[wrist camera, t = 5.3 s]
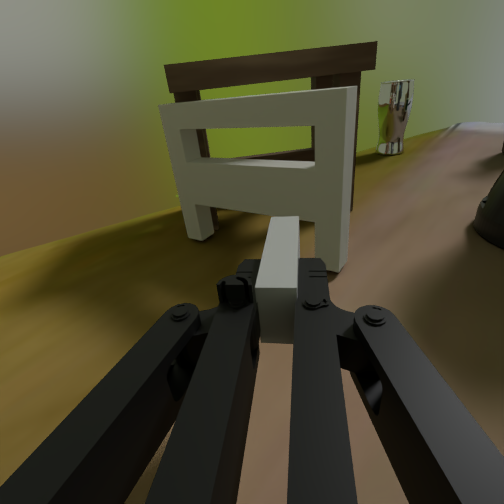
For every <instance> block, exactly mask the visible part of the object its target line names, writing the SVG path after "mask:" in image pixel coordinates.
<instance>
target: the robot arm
mask: <svg viewBox="0 0 504 504" xmlns="http://www.w3.org/2000/svg"><path fill="white" fill-rule="evenodd" d="M474 227H475V229H476V231H477V232H478V233H479V234H480V235H481V236H482V237H484V238H485V239H487V240H488V241H490V242H492V243H493V244H495V245H497V246H499V247H502V248H504V170H503V172H502V173H501V175H500V176H499V177H498V179H497V180H496V182H495V183H494V185H493V187H492V188H491V190H490V192H489V194H488V196H486V197H485V198H483V200H482V201H481V202H480V204H479V206H478V209H477V212H476V216H475V220H474ZM216 285H217V291H218V296H219V301H220V303H219V306H218V307H215V308H212V309H209V310H204V311H199V310H198V308H197V307H196V306H195V305H193V304H191V303H183V304H178V305H175V306H173V307H171V308H170V309H169V310H167V311H166V312H165V313H164V314H163V315H162V316H161V317H160V319H159V320H158V321H157V322H156V323H155V324H154V325H153V326H152V327H151V328H150V329H149V330H148V331H147V332H146V333H145V334H144V335H143V336H142V338H141V339H140V340H139V341H138V342H137V343H136V344H135V345H134V346H133V347H132V348H131V349H130V350H129V351H128V352H127V353H126V354H125V356H124V357H123V358H122V359H121V360H120V361H119V362H118V363H117V364H116V365H115V366H114V367H113V368H112V369H111V370H110V371H109V372H108V374H107V375H106V376H105V377H104V378H103V379H102V380H101V381H100V382H99V383H98V384H97V385H96V386H95V387H94V388H93V389H92V390H91V392H90V393H89V394H88V395H87V396H86V397H85V398H84V399H83V400H82V401H81V402H80V403H79V404H78V405H77V406H76V407H75V408H74V410H73V411H72V412H71V413H70V414H69V415H68V416H67V417H66V418H65V419H64V420H63V421H62V422H61V423H60V424H59V425H58V426H57V427H56V429H55V430H54V431H53V432H52V433H51V434H50V435H49V436H48V437H47V438H46V439H45V440H44V441H43V442H42V443H41V444H40V445H39V447H38V448H37V449H36V450H35V451H34V452H33V453H32V454H31V455H30V456H29V457H28V458H27V459H26V460H25V461H24V462H23V463H22V465H21V466H20V467H19V468H18V469H17V470H16V471H15V472H14V473H13V474H12V475H11V476H10V477H9V478H8V479H7V480H6V481H5V483H4V484H3V485H2V486H1V487H0V504H124V502H125V501H126V499H127V498H128V496H129V494H130V493H131V491H132V490H133V488H134V486H135V485H136V483H137V482H138V480H139V478H140V477H141V475H142V474H143V472H144V470H145V469H146V467H147V465H148V464H149V462H150V461H151V459H152V457H153V456H154V454H155V453H156V451H157V449H158V448H159V446H160V445H161V443H162V441H163V440H164V438H165V437H166V435H167V433H168V432H169V430H170V429H171V427H172V425H173V424H174V422H175V424H174V427H173V429H172V432H171V435H170V437H169V440H168V443H167V445H166V448H165V451H164V453H163V456H162V459H161V461H160V464H159V467H158V470H157V472H156V475H155V478H154V480H153V483H152V486H151V488H150V491H149V494H148V496H147V499H146V502H145V504H236V502H237V495H238V489H239V483H240V476H241V470H242V463H243V457H244V451H245V444H246V438H247V431H248V425H249V418H250V412H251V406H252V399H253V393H254V386H255V380H256V373H257V367H258V361H259V354H260V351H259V338H261V343H283V344H293V368H292V392H291V417H290V442H289V467H288V492H287V504H358V503H357V495H356V487H355V479H354V472H353V464H352V456H351V448H350V440H349V432H348V424H347V416H346V408H345V400H344V392H343V384H342V377H341V369H340V368H342V369H345V370H348V371H350V374H351V377H352V379H353V381H354V384H355V386H356V388H357V390H358V392H359V395H360V397H361V399H362V401H363V403H364V405H365V408H366V410H367V412H368V414H369V416H370V419H371V421H372V423H373V425H374V427H375V430H376V432H377V434H378V436H379V438H380V441H381V443H382V445H383V447H384V449H385V452H386V454H387V456H388V458H389V460H390V463H391V465H392V467H393V469H394V471H395V474H396V476H397V478H398V480H399V482H400V485H401V487H402V489H403V491H404V493H405V496H406V498H407V500H408V502H409V504H504V457H503V455H502V454H501V453H500V452H499V450H498V449H497V448H496V446H495V445H494V444H493V442H492V441H491V440H490V439H489V437H488V436H487V435H486V433H485V432H484V431H483V429H482V428H481V427H480V426H479V424H478V423H477V422H476V420H475V419H474V418H473V416H472V415H471V414H470V413H469V411H468V410H467V409H466V407H465V406H464V405H463V403H462V402H461V401H460V400H459V398H458V397H457V396H456V394H455V393H454V392H453V390H452V389H451V388H450V387H449V385H448V384H447V383H446V381H445V380H444V379H443V378H442V376H441V375H440V374H439V372H438V371H437V370H436V368H435V367H434V366H433V365H432V363H431V362H430V361H429V359H428V358H427V357H426V355H425V354H424V353H423V352H422V350H421V349H420V348H419V346H418V345H417V344H416V342H415V341H414V340H413V339H412V337H411V336H410V335H409V333H408V332H407V331H406V329H405V328H404V327H403V326H402V324H401V323H400V322H399V320H398V319H397V318H396V316H395V315H394V314H393V313H392V312H390V311H389V310H387V309H385V308H383V307H379V306H375V305H366V306H363V307H360V308H359V309H357V310H356V311H355V313H353V312H348V311H345V310H342V309H340V308H338V307H336V306H335V305H334V304H333V303H332V302H331V300H330V296H329V288H328V280H327V272H326V264H325V263H324V262H323V261H322V259H321V258H300V242H299V216H287V217H271V220H270V224H269V229H268V233H267V237H266V242H265V246H264V250H263V254H262V259H245V260H244V261H243V262H242V263H241V264H240V265H239V266H238V269H237V273H236V275H230V276H227V277H224V278H223V279H221V280H220V281H219V282H218V283H217V284H216Z"/></svg>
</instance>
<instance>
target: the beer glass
mask: <svg viewBox="0 0 504 504" xmlns="http://www.w3.org/2000/svg"><path fill="white" fill-rule="evenodd" d="M413 92H414V79H408V80H396V81H388V82H381V87H380V94H379V101H378V124H379V141H378V145H377V148H376V154H379V155H398V154H402V153H403V152H404V147H403V137H404V132H405V128H406V125H407V122H408V118H409V115H410V112H411V108H412V101H413Z"/></svg>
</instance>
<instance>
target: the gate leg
mask: <svg viewBox="0 0 504 504" xmlns="http://www.w3.org/2000/svg"><path fill="white" fill-rule="evenodd" d="M356 102H357V86H348V87H338V88H327V89H316V90H306V91H295V92H285V93H274V94H263V95H252V96H242V97H231V98H220V99H210V100H199V101H188V102H178V103H170V104H163V105H158V107H159V111H160V115H161V120H162V124H163V129H164V133H165V137H166V142H167V147H168V151H169V155H170V159H171V163H172V169H173V173H174V177H175V182H176V186H177V191H178V195H179V199H180V203H181V208H182V213H183V217H184V222H185V226H186V230H187V235H188V238H192V239H196V240H200V241H203V240H204V239H206V238H207V237H209V236H210V235H212V234H214V228H213V222H212V217H211V211H210V207H217V208H223V209H230V210H237V211H243V212H250V213H257V214H263V215H270V216H277V217H287V216H299V220H303V221H310V222H315V258H321V259H322V261H323V262H324V263H325V264H326V270H330V271H334V272H338V273H339V272H340V270H341V269H342V267H343V266H344V265H345V263H346V262H347V255H348V238H349V221H350V204H351V187H352V170H353V153H354V136H355V119H356ZM286 126H315V162H311V161H285V160H259V159H233V158H208V157H201V155H200V149H199V144H198V138H197V133H196V129H211V128H247V127H248V128H249V127H286Z"/></svg>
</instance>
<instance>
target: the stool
mask: <svg viewBox="0 0 504 504" xmlns="http://www.w3.org/2000/svg"><path fill="white" fill-rule="evenodd" d="M376 53H377V41H375V42H367V43H357V44H349V45H339V46H330V47H321V48H313V49H303V50H294V51H286V52H276V53H268V54H258V55H249V56H240V57H231V58H222V59H213V60H204V61H195V62H186V63H178V64H168V65H164V68H165V73H166V78H167V82H168V87H169V92H170V93H174V98H175V103H178V102H188V101H199V100H201V97H200V91H199V90H204V89H213V88H222V87H230V86H239V85H247V84H256V83H265V82H273V81H282V80H290V79H299V78H308V77H311V90H316V89H327V88H338V87H348V86H357V102H356V119H355V136H354V153H353V170H352V187H351V204H350V211H352V209H353V193H354V177H355V161H356V145H357V129H358V113H359V96H360V81H361V71H366V70H374V69H375V66H376ZM311 132H312V135H311V136H312V148H307V149H300V150H291V151H283V152H276V153H268V154H260V155H252V156H245V157H236V158H233V159H259V160H285V161H311V162H315V126H311ZM196 133H197V138H198V144H199V149H200V155H201V157H208V158H210V153H209V146H208V140H207V134H206V129H196ZM210 211H211V217H212V222H213V228H214V230H218V229H219V222H218V216H217V210H216V207H210Z"/></svg>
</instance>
